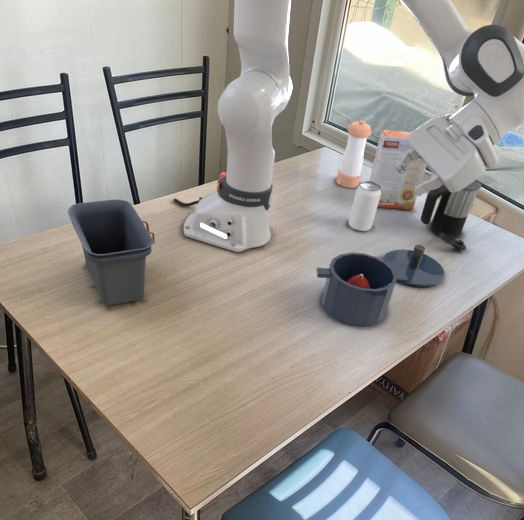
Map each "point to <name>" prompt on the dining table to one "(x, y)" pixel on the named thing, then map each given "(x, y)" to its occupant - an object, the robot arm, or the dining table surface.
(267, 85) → the robot arm
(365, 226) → the can
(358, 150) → the pepper shaker
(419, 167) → the cracker box
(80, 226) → the storage bin
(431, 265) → the lid
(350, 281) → the onion
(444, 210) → the milk frother
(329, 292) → the pot
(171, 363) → the dining table surface
